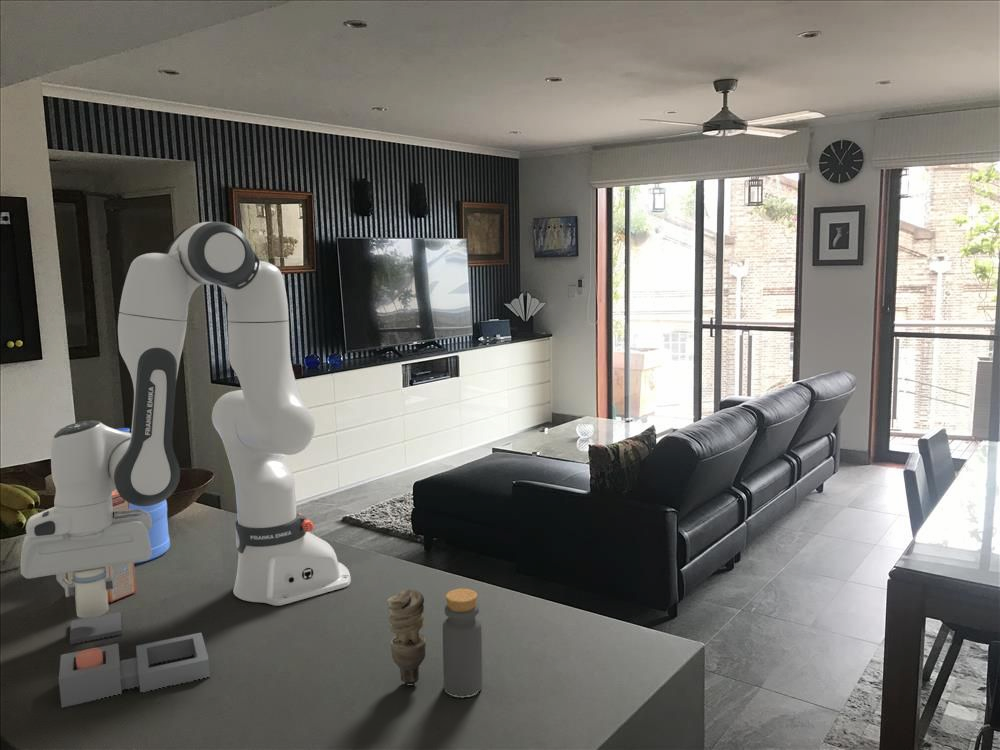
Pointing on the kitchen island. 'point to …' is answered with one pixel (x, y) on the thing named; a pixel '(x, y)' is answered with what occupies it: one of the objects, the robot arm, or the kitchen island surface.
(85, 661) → the plunger
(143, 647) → the housing
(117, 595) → the cracker box
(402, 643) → the light bulb
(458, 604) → the bottle
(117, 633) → the pad
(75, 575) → the cartridge
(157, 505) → the water jug
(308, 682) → the kitchen island surface
